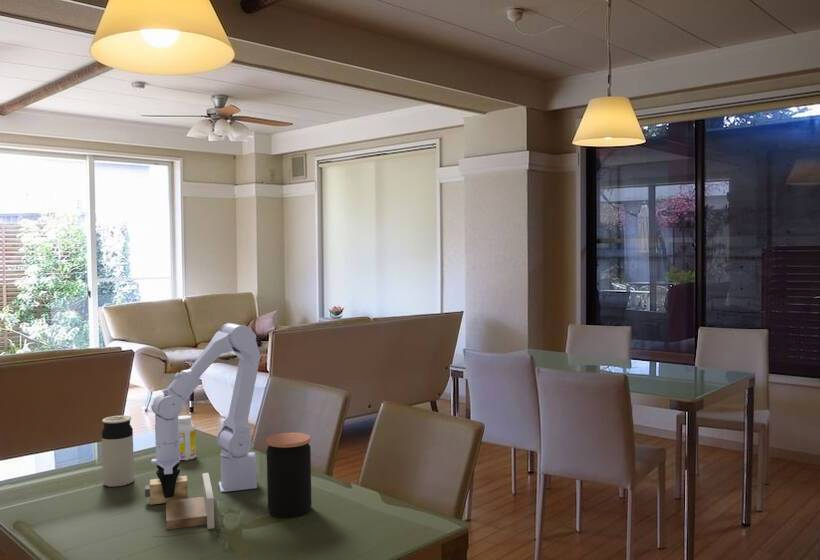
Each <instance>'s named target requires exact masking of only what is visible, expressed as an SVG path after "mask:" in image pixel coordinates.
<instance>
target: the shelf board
mask: <svg viewBox="0 0 820 560" xmlns="http://www.w3.org/2000/svg"><path fill="white" fill-rule="evenodd" d="M209 473H210V472H203V473H201V475H202V476H201V477H202V497H204V502H205V508H206V514H207V524H206V526H207V530H210V529H211V530H212V529H215V498H214V492H213V488H212V483H211V479H210V474H209Z"/></svg>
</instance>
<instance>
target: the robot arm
mask: <svg viewBox="0 0 820 560" xmlns="http://www.w3.org/2000/svg"><path fill="white" fill-rule="evenodd" d="M231 352H233V353H234V354H235V356H236V357H237V358H238V366H237V370H236V375H235V381H234V385H233V391H232V395H231V396H232V397H231V401H230V406H229V411H228V415H227V417H226V418H225V420H224V421H223V424H222V427H221V429H220V430H219V432H218V433H217V435H216V442H217V445H218V447H220V449H221V450H220V481H218V486H219V490H220V493H227V492H233V491H234V492H235V491H244V490H252V489H253V490H254V489H257V488H258V473H257V456H256V455H257V454H256V452H253V451H250V449H251V446H252V439H251V426H250V425H251V424H250V423H249V415H250V412H251V411H250V410H251V406H252V400H253V396H254V391H255V386H256V385H255V384H256V381H257V375H258V370H259V365H260V360H261V352H260V349H259V346H258V342H257V334H256V333H255V332H254V331H253V330H252V329H251V328H250V327H249V326H247V325H245V324H237V323H234V322H227V323H225V324H223V325H222V326H221V327H220V330H217V331H216V333H214V335H213V336H212V338H211V340H210V341H209V343H208V344H207V345H206V347H205V348H204V349H203V350H202V352H201V353H200V354H199V356H198V357H197V358H196V359H195V360H194V362H193V364H192V365H191V366H190V367H189V368H188V369H184V370H183V369H182V370H181V371H180V372H176V373H175V375H174V377H175V378H174V379H173V381H172V382H171V383H169V385H168V386H167V387H166V388H163V390H162V393H161V394H159V395H157V396H156V397H155V398H154V399H153V402H152V404H151V405H150V407H151V408H150V409H151V411H152V412H153V413H154V415H155V416H154V417H155V418H154V419H155V420H154V422H155V424H154V428H155V429H154V430H155V432H154V434H155V435H154V436H155V438H154V439H155V458H152V459H150V460H151V461H150V462H151V464H156V468H157V469H158V470H156V471H155V472H156V476H157V479H160V482H161V485H162V489H163V494H164V497H165V498H169V497H173V496H174V491H175V484H176V480H177V477H178V476H179V475H180V472H181V469H180V468H179V466H180V454H179V423H178V416H179V415H180V414H181V413H182V411H183V404H184V403H185V402H187V400H188V398H189V397H190V396H191V395H192V394H193V393H194V392H195V390H197V388H198V386H199V385H200V381H201V380H200V377H201V376H202V375H203V374H204V373H205V372H206V371H207V370H208V369H209V368H210V366H211V365H212V364H213V363H214V362H215V361H216V360H217V359H218V357H219V356H220V355H222V354H226V353H231ZM249 451H250V452H249ZM178 468H179V469H178Z"/></svg>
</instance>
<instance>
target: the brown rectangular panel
mask: <svg viewBox="0 0 820 560" xmlns="http://www.w3.org/2000/svg"><path fill="white" fill-rule="evenodd" d="M203 525H204V526H206V525H207V514H206V508H205V502H204V497H203V496H196V497H188V498H187V499H178V500H170V501H166V503H165V527H166V528H165V530H166V531H167V530H173V529H182V528H189V527H197V526H203Z"/></svg>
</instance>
